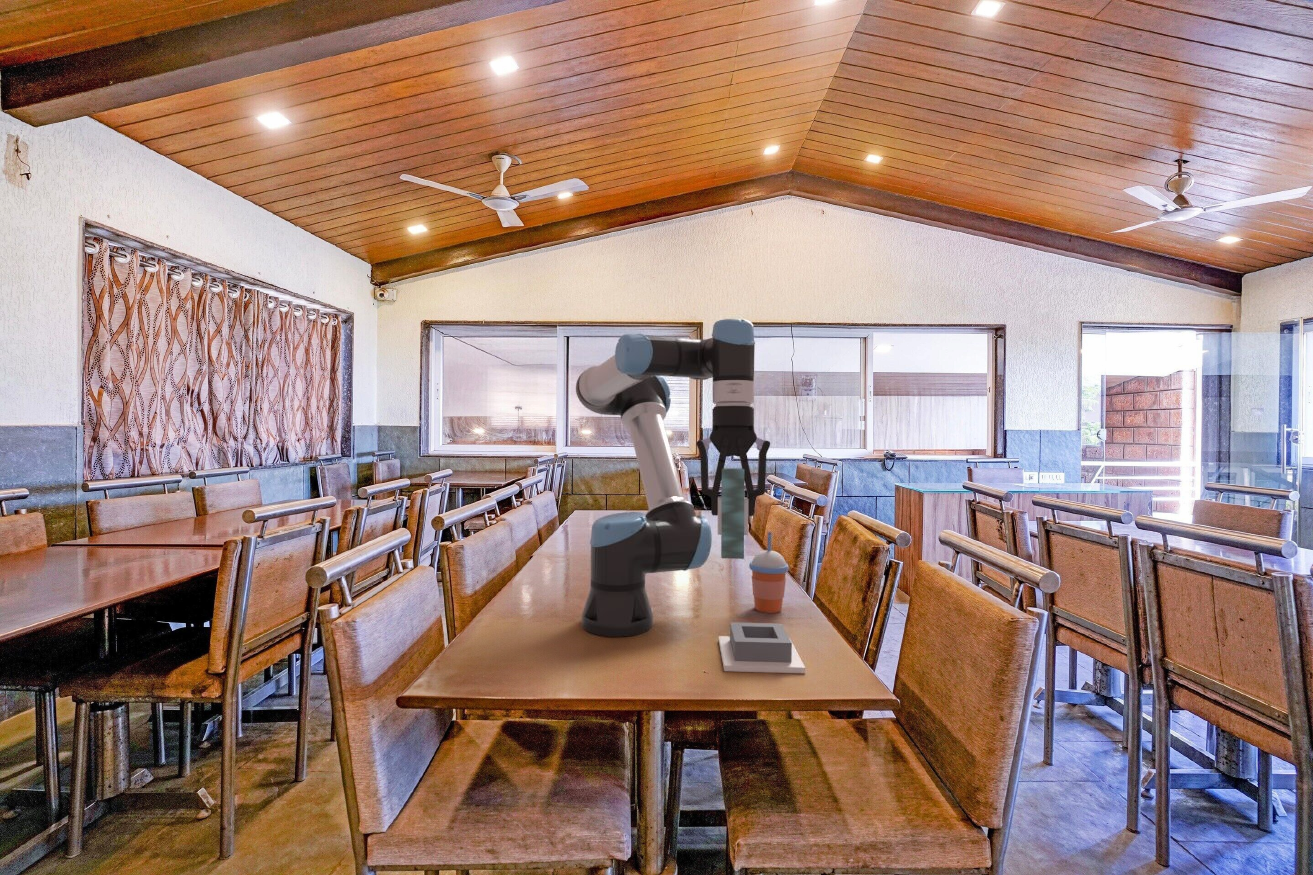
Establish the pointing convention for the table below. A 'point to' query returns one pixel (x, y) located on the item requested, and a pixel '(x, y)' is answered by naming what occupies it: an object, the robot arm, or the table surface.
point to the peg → (732, 513)
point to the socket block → (759, 649)
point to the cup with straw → (768, 579)
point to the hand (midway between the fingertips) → (732, 533)
